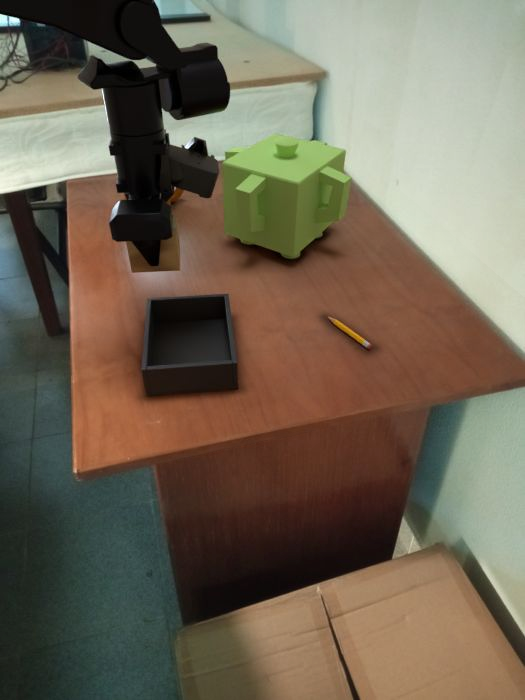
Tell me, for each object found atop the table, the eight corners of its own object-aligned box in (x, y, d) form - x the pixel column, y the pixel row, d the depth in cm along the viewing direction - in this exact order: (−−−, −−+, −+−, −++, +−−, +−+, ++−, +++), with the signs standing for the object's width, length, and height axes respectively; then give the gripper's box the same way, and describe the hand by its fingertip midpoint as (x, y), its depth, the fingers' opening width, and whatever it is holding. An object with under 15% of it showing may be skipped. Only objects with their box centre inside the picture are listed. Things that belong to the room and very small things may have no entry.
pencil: (368, 350, 67) (368, 346, 67) (325, 319, 72) (325, 315, 72) (372, 348, 68) (373, 344, 67) (329, 317, 73) (329, 313, 72)
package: (131, 273, 62) (124, 236, 58) (134, 254, 65) (128, 218, 62) (180, 270, 62) (176, 234, 59) (180, 252, 66) (176, 216, 62)
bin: (146, 396, 60) (141, 370, 57) (151, 323, 71) (146, 298, 68) (238, 389, 61) (237, 362, 58) (229, 318, 72) (228, 293, 69)
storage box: (266, 196, 102) (267, 107, 91) (367, 225, 93) (383, 131, 82) (190, 248, 86) (180, 148, 75) (303, 289, 78) (312, 184, 66)
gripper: (216, 159, 46) (222, 294, 57) (209, 100, 60) (215, 218, 71) (94, 162, 45) (123, 299, 56) (116, 102, 59) (136, 221, 70)
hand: (155, 255), depth 63 cm, fingers closed on package, 4 cm apart
